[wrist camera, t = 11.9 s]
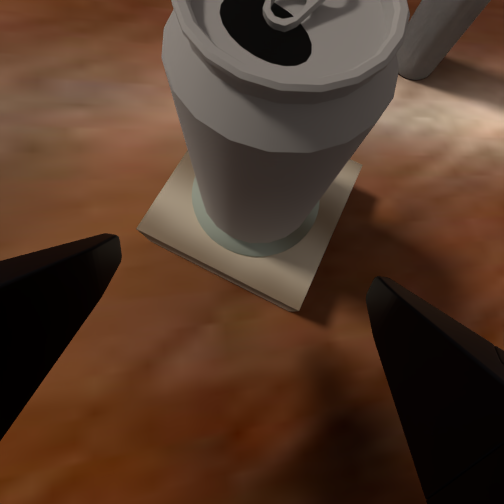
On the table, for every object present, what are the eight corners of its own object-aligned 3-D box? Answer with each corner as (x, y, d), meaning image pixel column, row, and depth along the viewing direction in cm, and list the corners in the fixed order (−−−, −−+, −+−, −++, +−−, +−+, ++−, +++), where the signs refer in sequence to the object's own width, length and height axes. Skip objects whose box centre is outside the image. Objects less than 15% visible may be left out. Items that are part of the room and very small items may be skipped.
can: (179, 194, 18) (73, -36, 6) (254, 130, 19) (284, -150, 8) (258, 270, 17) (311, 170, 5) (330, 196, 18) (494, -7, 7)
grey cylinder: (429, 86, 26) (554, -61, 16) (386, 73, 26) (482, -81, 16) (434, 52, 27) (554, -105, 17) (392, 40, 27) (486, -124, 17)
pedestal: (289, 311, 19) (299, 311, 16) (150, 241, 20) (135, 227, 17) (345, 184, 22) (363, 163, 19) (223, 126, 23) (221, 96, 20)
